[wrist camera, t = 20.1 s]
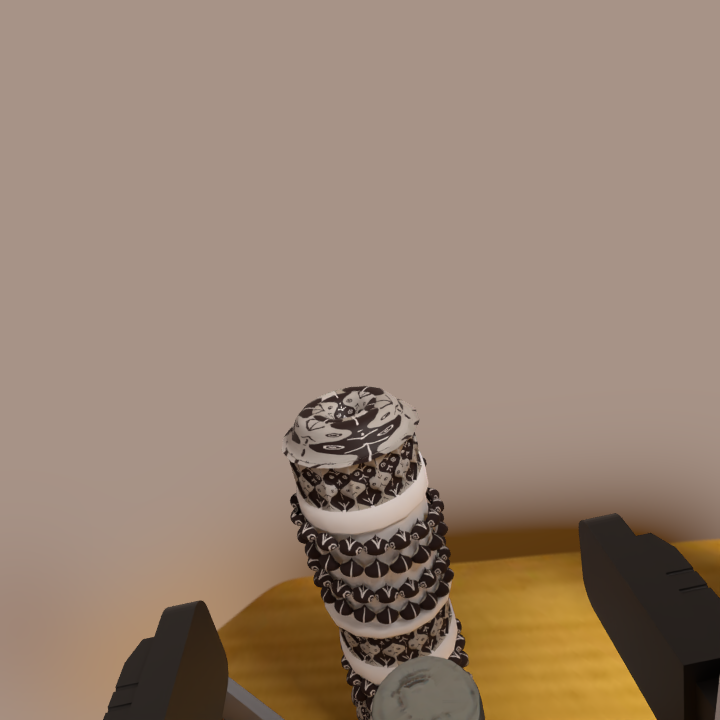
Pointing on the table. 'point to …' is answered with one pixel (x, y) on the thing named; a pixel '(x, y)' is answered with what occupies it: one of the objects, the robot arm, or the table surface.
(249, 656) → the table surface
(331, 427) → the decorative candle
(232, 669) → the table surface
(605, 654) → the table surface
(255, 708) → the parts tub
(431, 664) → the sauce bottle
